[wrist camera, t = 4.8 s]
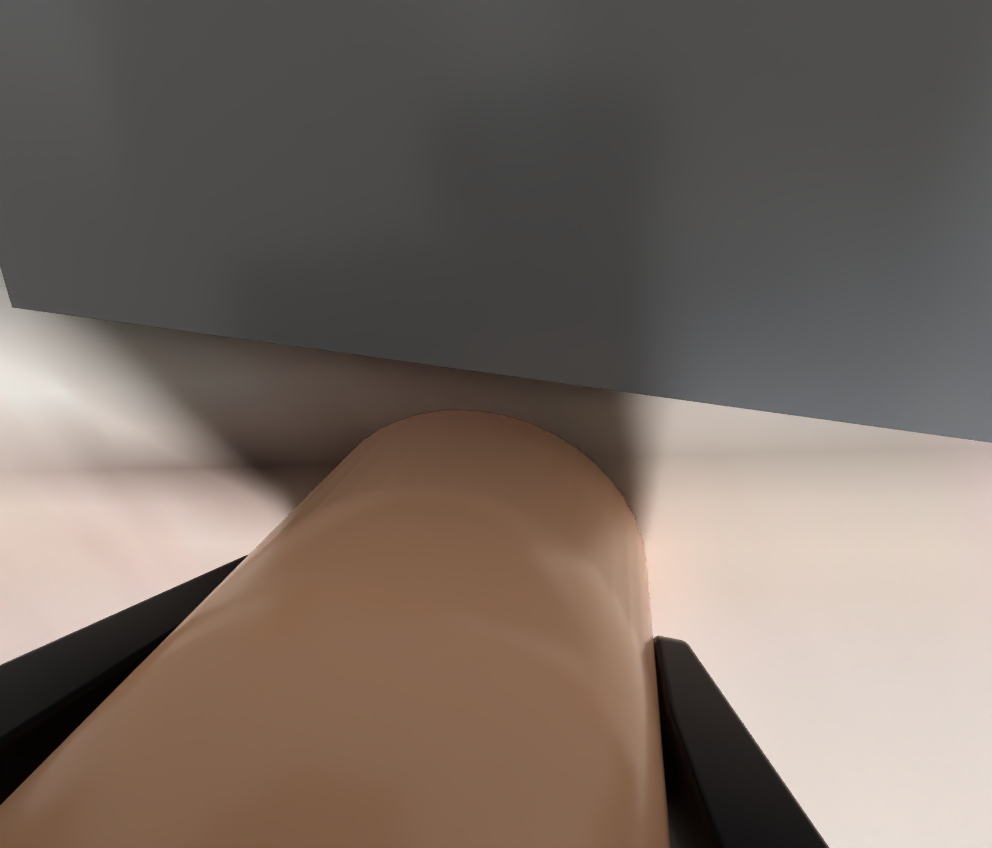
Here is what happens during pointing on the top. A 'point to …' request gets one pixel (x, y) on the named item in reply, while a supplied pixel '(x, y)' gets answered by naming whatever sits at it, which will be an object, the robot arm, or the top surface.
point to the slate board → (526, 189)
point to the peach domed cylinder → (393, 671)
